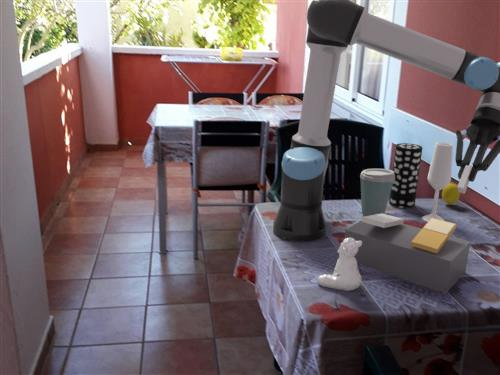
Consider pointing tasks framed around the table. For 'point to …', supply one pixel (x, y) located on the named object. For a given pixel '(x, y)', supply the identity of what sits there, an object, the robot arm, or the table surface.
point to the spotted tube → (405, 175)
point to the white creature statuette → (344, 268)
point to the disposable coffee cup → (375, 190)
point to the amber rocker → (433, 235)
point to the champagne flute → (439, 173)
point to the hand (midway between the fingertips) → (461, 190)
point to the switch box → (409, 255)
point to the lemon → (450, 193)
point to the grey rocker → (382, 220)
